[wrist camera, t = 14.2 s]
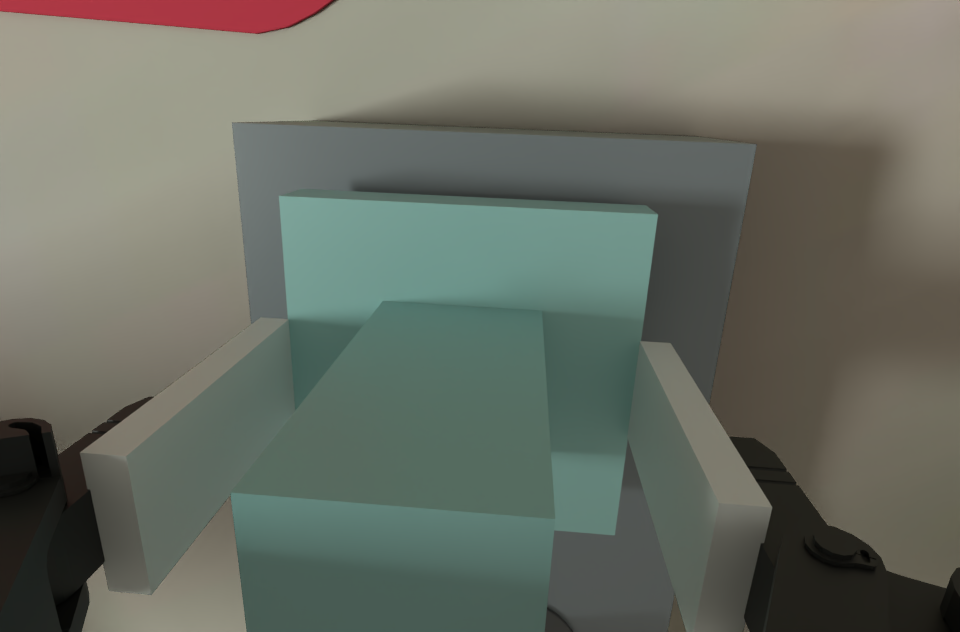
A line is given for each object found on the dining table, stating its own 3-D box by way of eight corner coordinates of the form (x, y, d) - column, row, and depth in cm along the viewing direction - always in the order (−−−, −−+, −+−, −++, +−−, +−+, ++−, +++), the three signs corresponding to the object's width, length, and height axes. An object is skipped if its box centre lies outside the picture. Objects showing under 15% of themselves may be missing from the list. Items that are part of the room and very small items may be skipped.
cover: (319, 479, 18) (120, 820, 10) (301, 188, 16) (-8, 286, 7) (607, 502, 18) (686, 888, 9) (645, 205, 15) (818, 336, 6)
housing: (336, 590, 29) (286, 710, 23) (310, 120, 22) (228, 122, 16) (624, 619, 28) (647, 752, 22) (696, 136, 21) (759, 144, 15)
